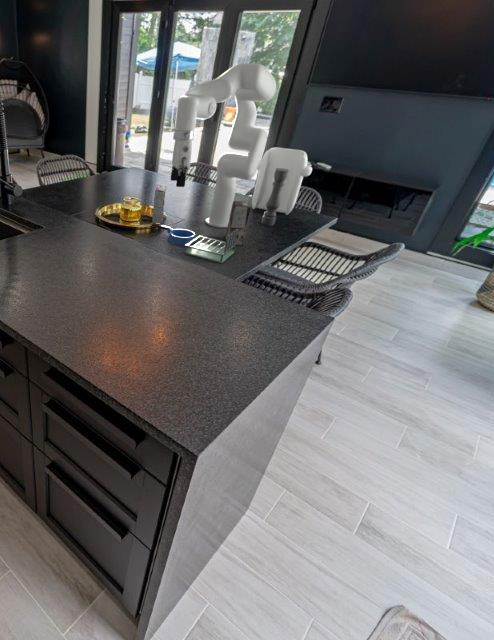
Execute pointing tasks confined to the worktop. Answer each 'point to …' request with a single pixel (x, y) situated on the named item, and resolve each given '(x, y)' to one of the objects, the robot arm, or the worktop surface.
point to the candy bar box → (159, 204)
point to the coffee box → (238, 220)
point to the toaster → (290, 190)
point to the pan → (177, 234)
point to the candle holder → (274, 197)
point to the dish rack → (212, 248)
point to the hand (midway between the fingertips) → (177, 183)
